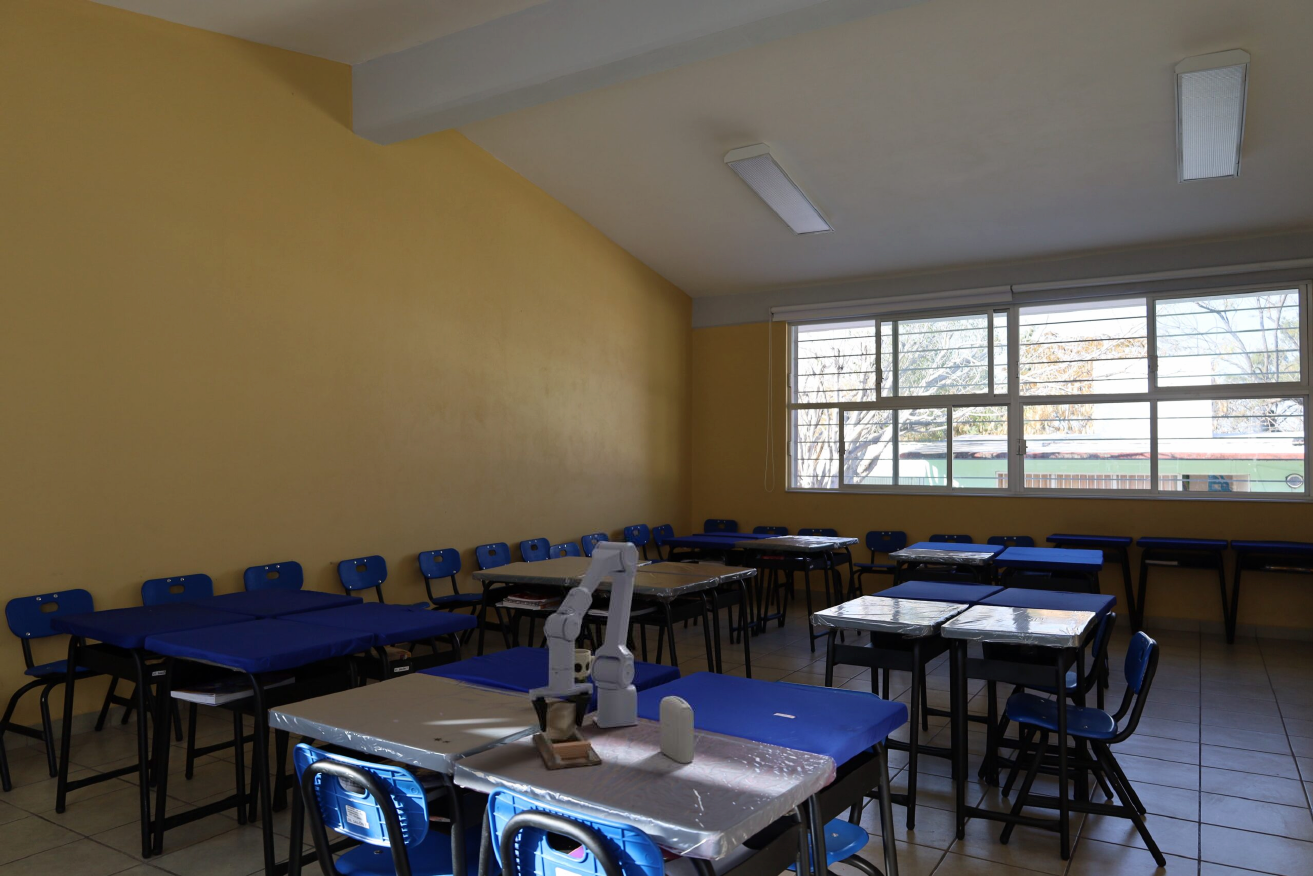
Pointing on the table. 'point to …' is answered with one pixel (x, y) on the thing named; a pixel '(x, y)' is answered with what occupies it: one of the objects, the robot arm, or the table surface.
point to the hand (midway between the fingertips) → (561, 728)
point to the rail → (556, 755)
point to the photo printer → (677, 729)
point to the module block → (561, 721)
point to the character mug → (581, 667)
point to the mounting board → (564, 761)
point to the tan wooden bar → (571, 749)
